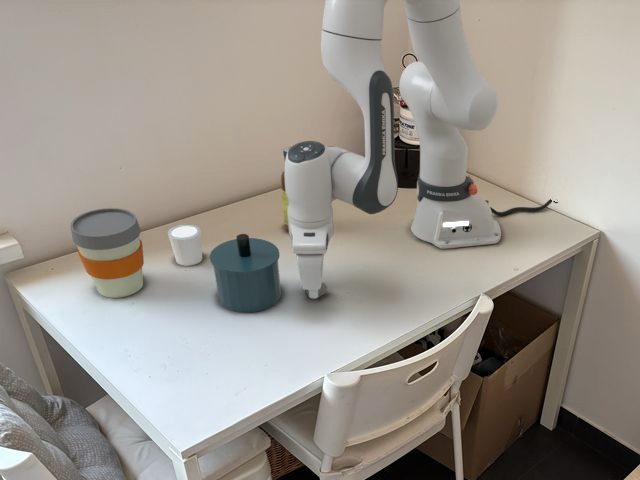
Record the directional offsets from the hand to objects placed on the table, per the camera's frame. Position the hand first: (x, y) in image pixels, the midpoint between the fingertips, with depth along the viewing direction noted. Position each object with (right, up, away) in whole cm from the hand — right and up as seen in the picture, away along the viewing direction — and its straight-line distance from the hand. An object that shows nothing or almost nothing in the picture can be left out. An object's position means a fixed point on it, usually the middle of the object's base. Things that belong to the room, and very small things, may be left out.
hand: (314, 284), depth 149 cm
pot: (-14, -2, 0) cm, 14 cm away
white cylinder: (-30, +6, +10) cm, 32 cm away
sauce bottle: (-9, +16, +25) cm, 31 cm away
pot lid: (-13, +5, -6) cm, 15 cm away
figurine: (0, -2, +2) cm, 3 cm away
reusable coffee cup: (-41, -1, 0) cm, 41 cm away
